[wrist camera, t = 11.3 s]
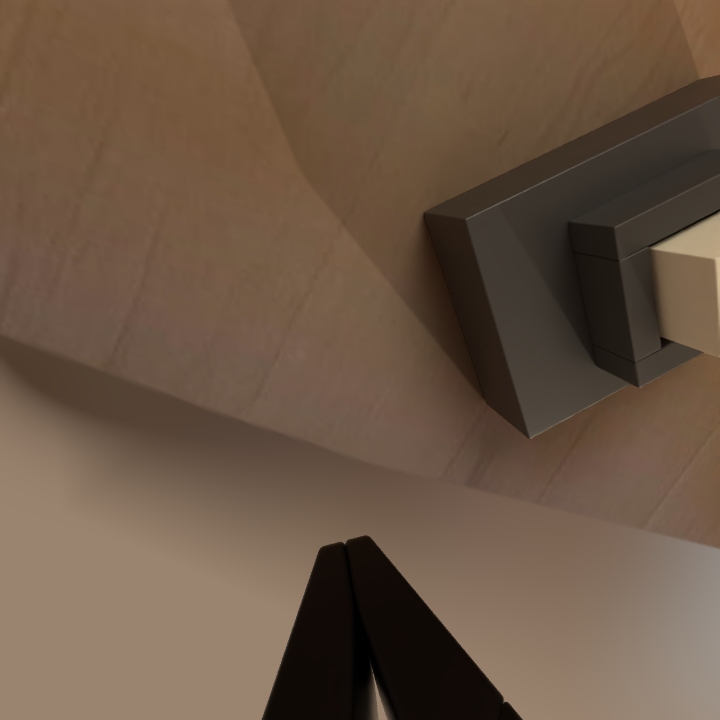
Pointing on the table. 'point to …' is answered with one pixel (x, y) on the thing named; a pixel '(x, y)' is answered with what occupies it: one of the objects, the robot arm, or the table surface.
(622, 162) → the grey stepped pedestal
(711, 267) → the beige square block
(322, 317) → the table surface
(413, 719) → the robot arm
